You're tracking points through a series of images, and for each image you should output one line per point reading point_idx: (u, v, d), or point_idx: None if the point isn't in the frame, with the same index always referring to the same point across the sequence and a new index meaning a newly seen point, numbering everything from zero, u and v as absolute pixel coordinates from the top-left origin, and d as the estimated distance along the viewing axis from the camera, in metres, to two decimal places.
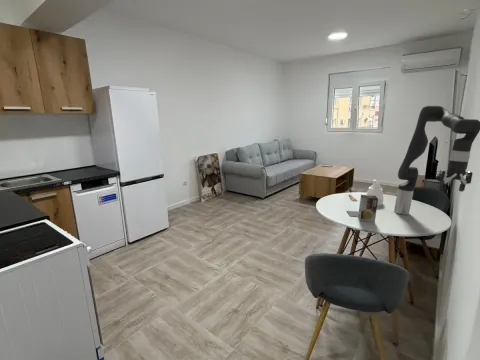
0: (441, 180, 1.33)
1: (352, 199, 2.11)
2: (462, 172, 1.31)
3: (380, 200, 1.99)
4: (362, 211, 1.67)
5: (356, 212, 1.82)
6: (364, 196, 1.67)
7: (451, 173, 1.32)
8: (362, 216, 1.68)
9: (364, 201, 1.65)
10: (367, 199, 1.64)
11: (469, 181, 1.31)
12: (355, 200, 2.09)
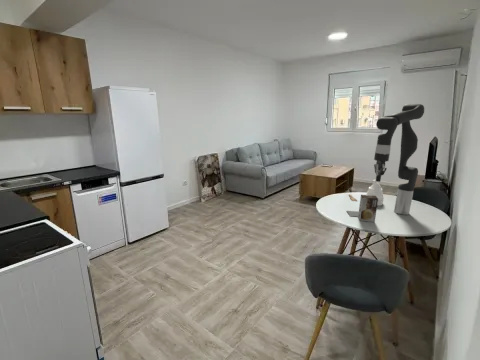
0: None
1: (352, 199, 2.11)
2: None
3: (380, 200, 1.99)
4: (362, 211, 1.67)
5: (356, 212, 1.82)
6: (364, 196, 1.67)
7: None
8: (362, 216, 1.68)
9: (364, 201, 1.65)
10: (367, 199, 1.64)
11: None
12: (355, 200, 2.09)
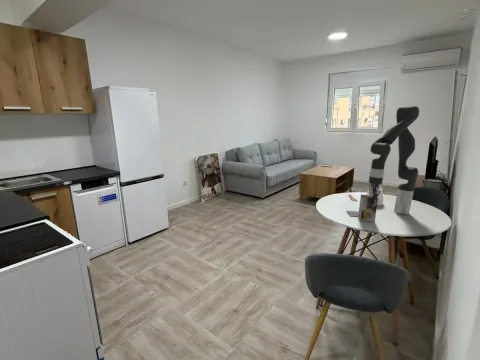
0: None
1: (352, 199, 2.11)
2: None
3: (380, 200, 1.99)
4: (362, 211, 1.67)
5: (356, 212, 1.82)
6: (364, 196, 1.67)
7: None
8: (362, 216, 1.68)
9: (364, 201, 1.65)
10: (367, 199, 1.65)
11: None
12: (355, 200, 2.09)
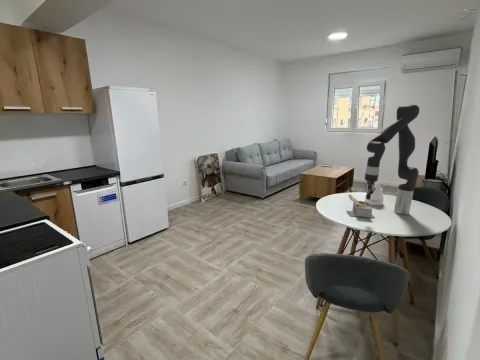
0: None
1: (352, 199, 2.11)
2: None
3: (380, 200, 1.99)
4: (357, 204, 1.79)
5: None
6: None
7: None
8: (358, 206, 1.76)
9: (355, 201, 1.85)
10: (358, 201, 1.86)
11: None
12: (355, 200, 2.09)
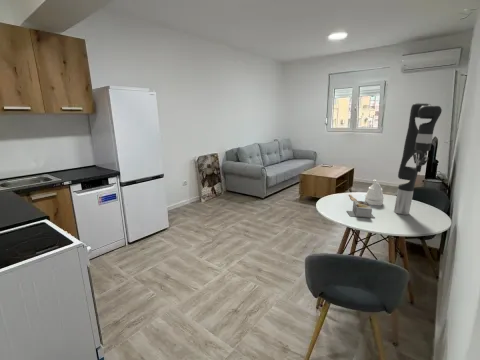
0: None
1: (352, 199, 2.11)
2: None
3: (380, 200, 1.99)
4: (357, 204, 1.79)
5: None
6: None
7: None
8: (358, 206, 1.76)
9: (355, 201, 1.85)
10: (357, 201, 1.86)
11: None
12: (355, 200, 2.09)
